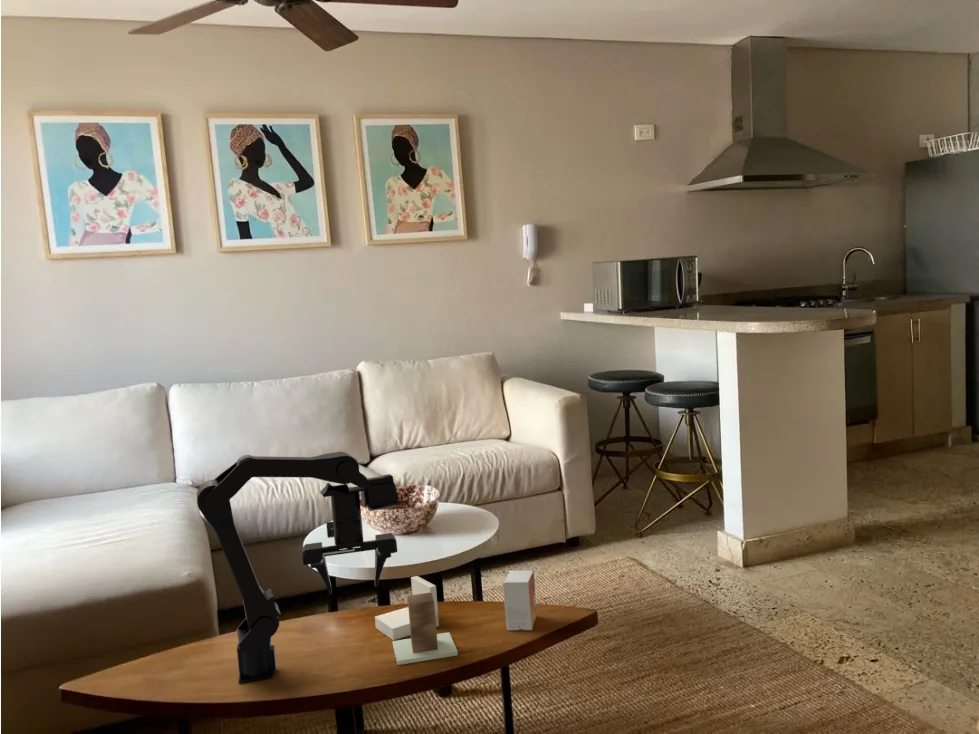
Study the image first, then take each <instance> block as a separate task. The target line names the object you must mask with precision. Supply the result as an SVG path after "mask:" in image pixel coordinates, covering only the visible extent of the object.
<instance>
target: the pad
mask: <svg viewBox="0 0 979 734" xmlns="http://www.w3.org/2000/svg"><path fill="white" fill-rule="evenodd" d="M437 644H438V650H431V651H424V652H416V653H413V650H412V644H411V637H410V638H405V639H397V640H392V647H393V652H394V656H395V660H396V664H397V666H401V665H407V664H412V663H420V662H424V661H430V660H435V659H443V658H449V657H454V656H458V655H459V653H458V652H459V651H458V649H457V646H456V644H455V642H454V640H453V638H452V635H451V632H443V633H442V632H441V633H437Z"/></svg>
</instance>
